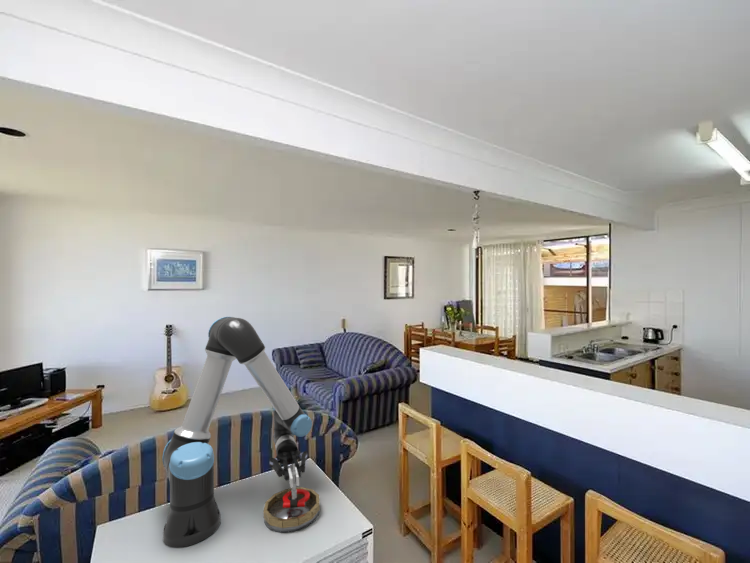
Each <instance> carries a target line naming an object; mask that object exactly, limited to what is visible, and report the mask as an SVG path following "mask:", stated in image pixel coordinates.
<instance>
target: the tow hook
mask: <svg viewBox="0 0 750 563" xmlns="http://www.w3.org/2000/svg"><path fill="white" fill-rule="evenodd" d="M291 473H292V477H293V487H292V490H291V491H289V492H287V493H286V494H285V495H284V496H283V508H297V507H305V502H306V501H307V500H308V499H309V498H310V493H309V492H308V491H307V490H304V489H296V488H297V486H296V470H295V463H293V464H291ZM297 494H303V495H305V496H304V498H302V499H300V500H299V501H298V497H297ZM289 496H291V499H290V500H289V499H288V497H289Z"/></svg>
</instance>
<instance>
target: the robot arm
mask: <svg viewBox="0 0 750 563" xmlns="http://www.w3.org/2000/svg"><path fill="white" fill-rule="evenodd" d="M207 335H208V340H207V343H206V345H205V348H204V352H205V353H206V355H207V356H206V359H205V361H204V364H203V367H202V369H201V372H200V375H199V377H198V380H197V383H196V385H195V388H194V392H193V394H192V396H191V398H190V402H189V404H188V408H187V410H186V412H185V415H184V419H183V421H182V424H181V425H180V426H178V427H177V428H176V429H174V432H173V434H172V436H171V438H170V440H169V441H167V443H166V445H165V446H164V448H163V452H162V453H163V454H162V458H161V459H162V465H163V467H164V469H165V471H166V475H167V477H168V480H169V511H168V514H167V518H166V523H165V524H164V527H163V529H162V530H163V531H162V539H163V542H164V544H165V545H166V546H168V547H172V548H182V547H183V548H184V547H188V546H192V545H195V544H198V543H200V542H202V541H205V540H206V539H207V538H208V537H210V536H212V535H213V534H214V533H215V532H216V531H217V530H218V528H219V527H220V524H221V512H220V509H219V507H218V504H217V501H216V499H215V483H214V482H215V476H214V474H215V472H214V471H215V465H214V464H215V463H214V462H215V455H214V454H215V453H214V449H213V447H212V446H211V445H210V444H209V443H210V441H211V437H212V434H211V433H210V431H209V429H210V425H211V424H212V422H213V421H212V420H213V417H214V415H215V412H216V410H217V406H218V403H219V400H220V398H221V395H222V393H223V392H222V391H223V390H224V387H225V384H226V380H227V378H228V374H229V371H230V369H231V366H232V363H233V362H234V361H235V360H236V361H238V363H239V364H241V365H244V366H245V367H246V370H248V372H249V373H250V375H251V377H252V378H253V379H254V381H255V382H256V384H257V385H258V387H259V388H260V389H261V391H262V393H263V394H264V395H265V397H266V398H267V400H268V401H269V403H270V404H271V406H272V411H273V443H274V447H275V452H276V453H275V454H276V456H275V458H274V457H270V458H269V467H271V468H272V469H273V470H274V472H275V474H276V476H277V477H278V478H281V477H283V478H284V480H285V481H286V482H287V481H288V483H289V487H290V488H292V487H293V477H292V468H291V467H288V466H289V465H290V464H291V465H292V464H293V463H295V470H296V487H300V478H302V473H305V472H306V461H307V460H308V451H307V450H304V451H302V452H301V451H300V450H299V448H298V446H297V443H296V439H295V436H296V437H299V438H303V437H306V435H309V433H310V431H311V430H312V427H313V422H312V419H311V417H310V416H309V415H308V414H306V413H304V411H303V409H302V408H301V407H300V405H299V403H298V401H297V400H296V399H295V397H294V396H293V394H292V392H291V391H290V389H289V388H288V386H287V385H286V383H285V381H284V380H283V378H282V377H281V375H280V373H279V372H278V371H277V369H276V367H275V365H274V364H273V363H272V360H271V359H270V358H269V356H268V355H267V353H266V352H265V350H266V346H265V344H264V343H263V341H262V340H261V338H260V336H259V335H258V333H257V331H256V329H255V328H254V327H253V325H252V323H250V322H249V321H248V320H246V319H244V318H241V317H234V316H223V317H221V318H220V317H219V318H218V319H216V320H214V322H213V323H212V324H211V325H210V327H209V329H208V333H207ZM299 459H301V460H300V461H301V463H299ZM282 465H283V466H282Z"/></svg>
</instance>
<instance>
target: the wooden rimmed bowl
mask: <svg viewBox="0 0 750 563" xmlns="http://www.w3.org/2000/svg"><path fill="white" fill-rule="evenodd" d="M296 489H304V490H307V491H308V492H309V493H310V498H309V499H308V500H307V501H306V502H305V507H297V508H283V496H284V495H285V494H286V493H287V492H289V491H291V490H292V488H286V489H283V490H281V491H279V492H276V493H274V494H273V495H272V496H270V497H269V499H267V500H266V501H265V503H264V506H263V513H262V514H263V519H264V525H265V526H266V527H267V528H268V529H269V530H270V531H272V532H275V533H279V534H280V533H281V534H282V533H284V534H285V533H287V534H288V533H293V532H298V531H301V530H304V529H306V528H308V527H309V526H310V525H312V524H313V523H314V522H315V521H316V520H317V519H318V517H319V515H320V506H321V504H320V494H318V492H316V491H315V490H314V489H313V488H308V487H302V486H296ZM304 496H305V495H303V494H297V497H298V501H299V500H300V499H302V498H304ZM288 499H289V500H290V499H291V496H289V497H288Z"/></svg>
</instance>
